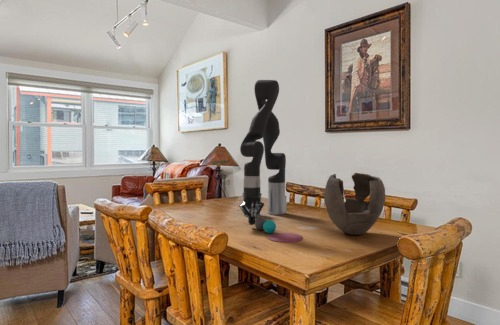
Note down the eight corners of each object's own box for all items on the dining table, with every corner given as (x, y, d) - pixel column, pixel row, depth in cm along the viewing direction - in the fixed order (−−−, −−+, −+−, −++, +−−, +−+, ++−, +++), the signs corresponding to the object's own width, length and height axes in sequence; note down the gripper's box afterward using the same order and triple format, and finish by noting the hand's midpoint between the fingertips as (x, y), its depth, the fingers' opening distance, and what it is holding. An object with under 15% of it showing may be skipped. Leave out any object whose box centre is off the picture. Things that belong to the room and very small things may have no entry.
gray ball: (268, 215, 148) (271, 228, 146) (260, 219, 152) (262, 231, 150) (259, 216, 144) (262, 228, 143) (251, 219, 148) (253, 232, 146)
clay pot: (339, 225, 157) (339, 171, 156) (393, 233, 141) (394, 174, 141) (314, 235, 138) (314, 174, 137) (372, 246, 123) (373, 177, 122)
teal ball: (269, 228, 146) (271, 217, 145) (277, 234, 142) (279, 222, 141) (259, 230, 143) (261, 218, 142) (267, 236, 139) (270, 224, 138)
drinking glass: (240, 216, 177) (239, 193, 177) (245, 213, 187) (245, 191, 186) (258, 217, 174) (258, 194, 174) (263, 214, 184) (263, 192, 183)
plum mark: (285, 231, 145) (285, 231, 145) (310, 238, 134) (310, 237, 134) (260, 236, 136) (260, 236, 136) (284, 244, 125) (284, 243, 125)
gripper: (245, 187, 144) (245, 228, 144) (268, 185, 152) (268, 224, 152) (234, 186, 150) (235, 225, 150) (258, 184, 158) (258, 221, 158)
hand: (251, 224), depth 151 cm, fingers closed
